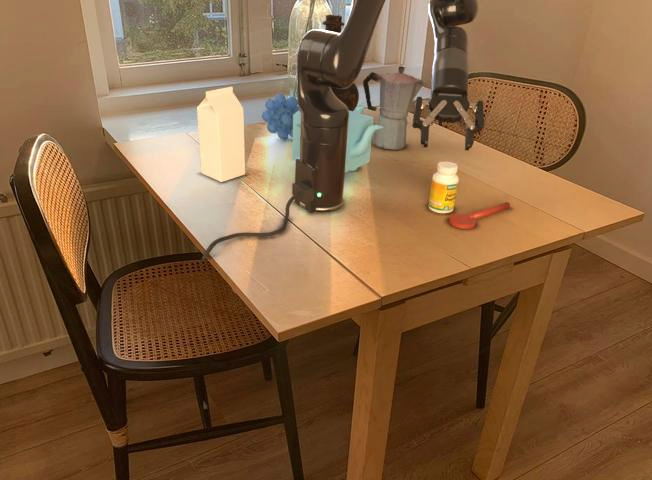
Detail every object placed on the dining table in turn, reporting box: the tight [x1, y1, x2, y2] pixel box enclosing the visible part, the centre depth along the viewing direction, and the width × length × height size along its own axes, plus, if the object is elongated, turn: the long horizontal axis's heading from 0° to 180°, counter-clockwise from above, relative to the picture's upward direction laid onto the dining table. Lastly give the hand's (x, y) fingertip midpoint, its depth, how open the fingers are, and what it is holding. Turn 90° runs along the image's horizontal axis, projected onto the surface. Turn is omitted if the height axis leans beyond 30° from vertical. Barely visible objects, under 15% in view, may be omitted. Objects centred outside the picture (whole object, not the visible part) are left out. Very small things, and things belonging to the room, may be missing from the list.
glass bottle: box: [322, 14, 360, 111], centre depth 165 cm, size 18×18×28 cm
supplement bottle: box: [427, 161, 460, 214], centre depth 119 cm, size 5×5×10 cm
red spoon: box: [448, 201, 511, 230], centre depth 119 cm, size 17×5×1 cm, turn 125°
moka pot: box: [362, 66, 426, 151], centre depth 149 cm, size 10×15×20 cm, turn 89°
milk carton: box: [196, 86, 246, 183], centre depth 127 cm, size 7×7×19 cm
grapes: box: [261, 93, 300, 140], centre depth 151 cm, size 12×7×12 cm, turn 105°
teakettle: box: [291, 103, 384, 174], centre depth 134 cm, size 19×19×15 cm
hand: (446, 147), depth 119 cm, fingers open, 8 cm apart
